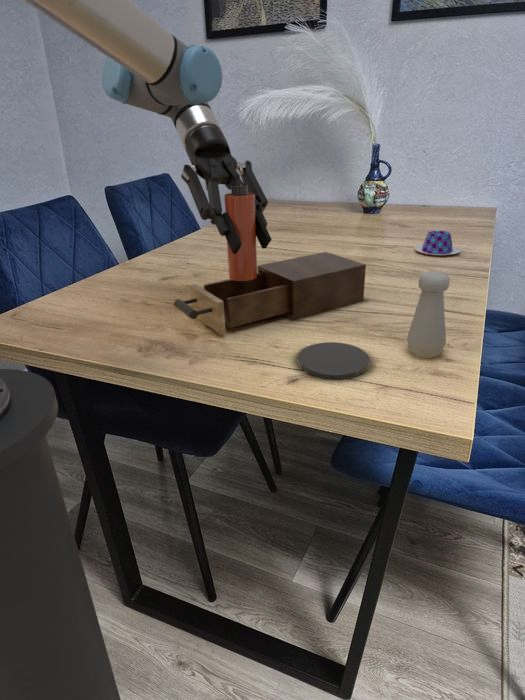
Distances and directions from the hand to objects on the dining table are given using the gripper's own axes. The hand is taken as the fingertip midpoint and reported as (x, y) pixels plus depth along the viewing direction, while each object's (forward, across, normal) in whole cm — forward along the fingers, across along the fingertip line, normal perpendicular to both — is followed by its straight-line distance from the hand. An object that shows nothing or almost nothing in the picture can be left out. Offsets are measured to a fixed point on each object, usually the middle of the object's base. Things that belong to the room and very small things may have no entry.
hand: (252, 246), depth 81 cm
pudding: (0, -67, -20) cm, 70 cm away
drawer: (+7, +2, -12) cm, 14 cm away
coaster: (+24, -2, +4) cm, 25 cm away
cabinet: (+7, -16, -13) cm, 22 cm away
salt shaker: (+28, -16, +8) cm, 34 cm away
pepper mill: (+2, 0, -7) cm, 7 cm away
